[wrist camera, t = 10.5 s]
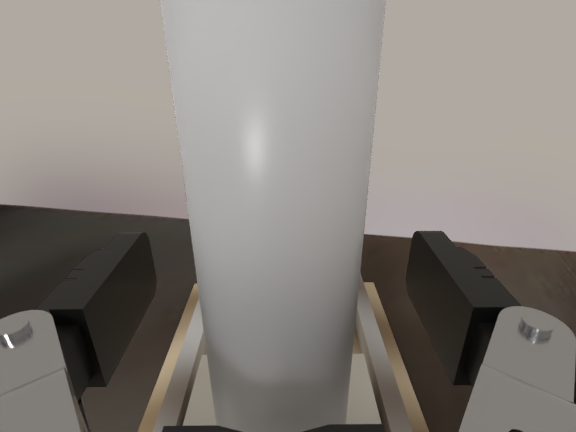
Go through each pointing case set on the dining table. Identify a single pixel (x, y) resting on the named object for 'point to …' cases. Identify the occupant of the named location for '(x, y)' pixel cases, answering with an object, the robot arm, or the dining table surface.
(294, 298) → the slider
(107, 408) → the dining table surface
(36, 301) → the dining table surface
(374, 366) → the base
